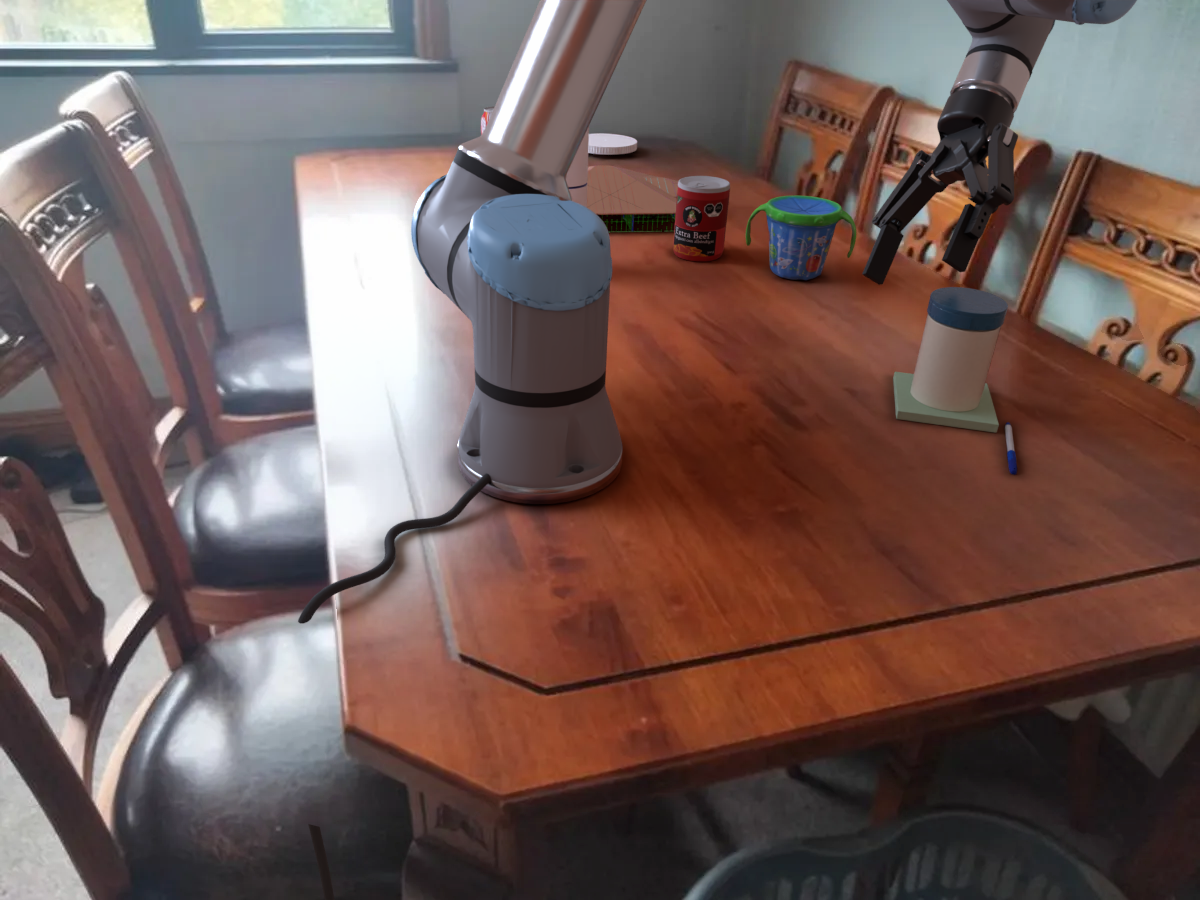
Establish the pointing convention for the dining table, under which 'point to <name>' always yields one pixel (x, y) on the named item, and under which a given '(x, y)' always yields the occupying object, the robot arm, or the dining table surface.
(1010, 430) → the marker pen
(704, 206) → the canned food
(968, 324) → the jar lid
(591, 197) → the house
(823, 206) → the snack cup
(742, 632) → the dining table surface
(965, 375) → the jam jar
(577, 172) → the cylindrical container
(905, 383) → the sticky note pad
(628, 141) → the plastic lid
